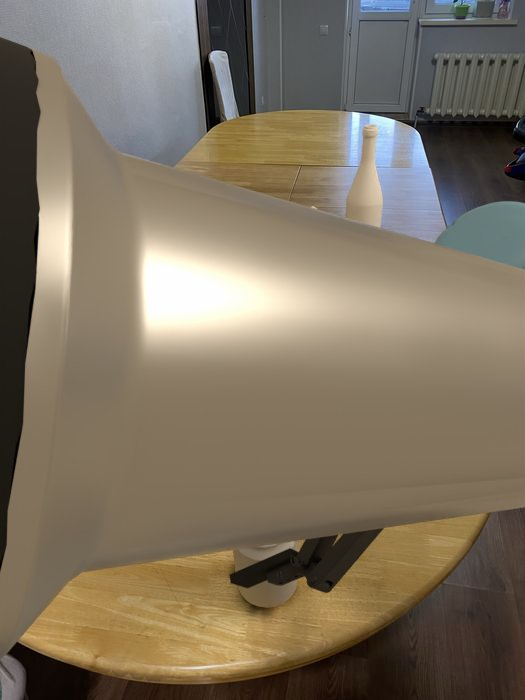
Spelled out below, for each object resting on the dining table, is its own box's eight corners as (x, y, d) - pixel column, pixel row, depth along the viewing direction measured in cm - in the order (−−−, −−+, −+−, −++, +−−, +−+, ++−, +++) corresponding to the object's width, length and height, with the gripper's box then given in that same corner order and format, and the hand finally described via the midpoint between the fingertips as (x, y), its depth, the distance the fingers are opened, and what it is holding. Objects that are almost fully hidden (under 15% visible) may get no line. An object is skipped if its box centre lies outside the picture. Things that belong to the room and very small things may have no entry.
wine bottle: (374, 233, 147) (385, 120, 129) (382, 247, 139) (395, 129, 122) (341, 235, 147) (347, 122, 129) (347, 249, 139) (355, 131, 121)
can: (236, 613, 60) (228, 553, 53) (236, 555, 66) (230, 494, 59) (300, 610, 60) (301, 549, 53) (295, 552, 66) (295, 490, 59)
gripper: (503, 570, 39) (272, 655, 46) (390, 336, 56) (232, 423, 62) (478, 548, 34) (221, 647, 41) (361, 297, 51) (192, 396, 57)
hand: (227, 511), depth 51 cm, fingers open, 13 cm apart
